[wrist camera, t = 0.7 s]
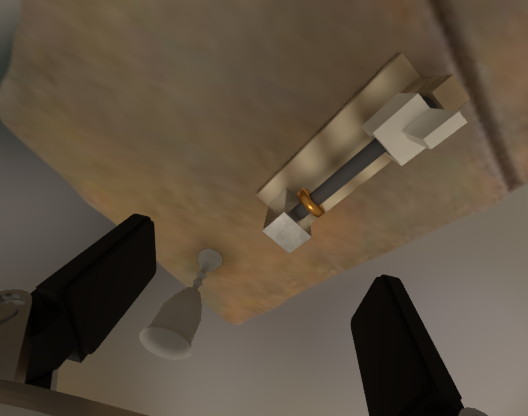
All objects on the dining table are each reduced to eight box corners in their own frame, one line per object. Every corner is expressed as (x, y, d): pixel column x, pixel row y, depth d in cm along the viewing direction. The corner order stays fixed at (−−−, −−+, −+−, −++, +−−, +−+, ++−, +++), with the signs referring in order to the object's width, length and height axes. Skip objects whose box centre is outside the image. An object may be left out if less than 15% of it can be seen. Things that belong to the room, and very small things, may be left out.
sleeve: (397, 93, 26) (445, 93, 18) (423, 124, 27) (479, 139, 19) (360, 126, 28) (387, 140, 20) (385, 155, 29) (421, 180, 21)
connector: (300, 174, 35) (301, 196, 27) (322, 195, 36) (329, 223, 28) (269, 203, 38) (262, 230, 30) (290, 222, 39) (289, 253, 31)
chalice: (190, 264, 48) (137, 349, 32) (196, 239, 45) (141, 320, 29) (223, 276, 48) (187, 365, 32) (231, 252, 45) (195, 338, 29)
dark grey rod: (420, 96, 25) (429, 96, 23) (430, 109, 25) (440, 111, 23) (283, 214, 33) (282, 221, 32) (292, 223, 34) (292, 230, 32)
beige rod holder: (397, 54, 28) (436, 38, 20) (442, 114, 30) (494, 121, 22) (257, 191, 39) (247, 217, 31) (298, 228, 41) (299, 261, 33)
